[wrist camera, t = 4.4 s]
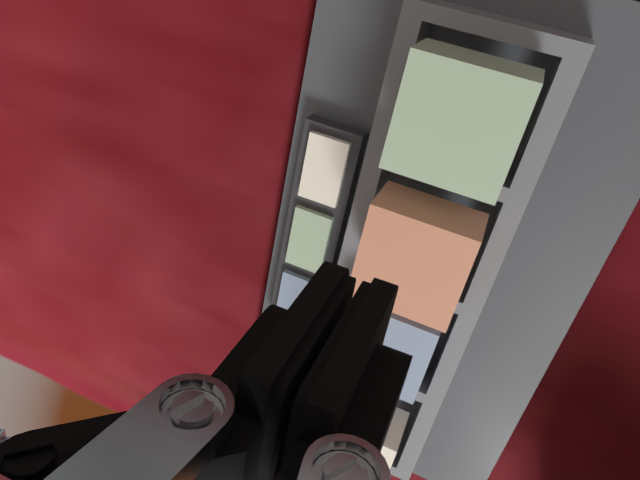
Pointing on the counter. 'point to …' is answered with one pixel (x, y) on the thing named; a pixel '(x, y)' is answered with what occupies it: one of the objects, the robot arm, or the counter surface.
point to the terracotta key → (419, 251)
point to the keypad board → (504, 218)
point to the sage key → (460, 118)
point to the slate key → (412, 350)
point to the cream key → (394, 435)
